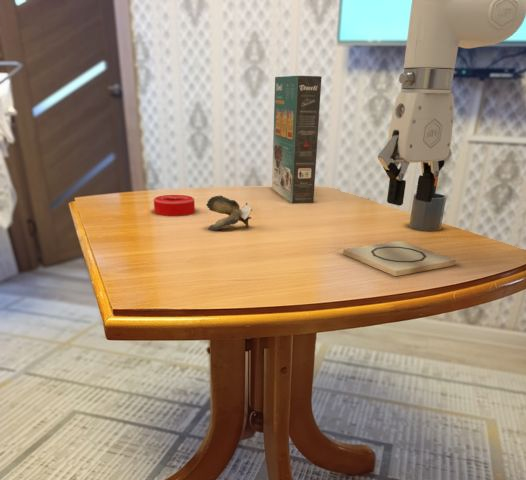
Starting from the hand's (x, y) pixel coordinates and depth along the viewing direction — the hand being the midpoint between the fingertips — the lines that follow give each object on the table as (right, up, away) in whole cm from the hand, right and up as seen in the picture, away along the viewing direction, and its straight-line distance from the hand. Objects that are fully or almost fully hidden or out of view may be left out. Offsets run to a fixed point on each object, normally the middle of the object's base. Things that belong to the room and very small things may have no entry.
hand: (409, 201), depth 86 cm
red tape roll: (-46, +8, +37) cm, 60 cm away
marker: (+12, +3, +28) cm, 30 cm away
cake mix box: (-17, +19, +59) cm, 65 cm away
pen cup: (+11, +2, +28) cm, 30 cm away
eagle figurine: (-32, +1, +24) cm, 40 cm away
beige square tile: (-1, -9, +5) cm, 10 cm away
